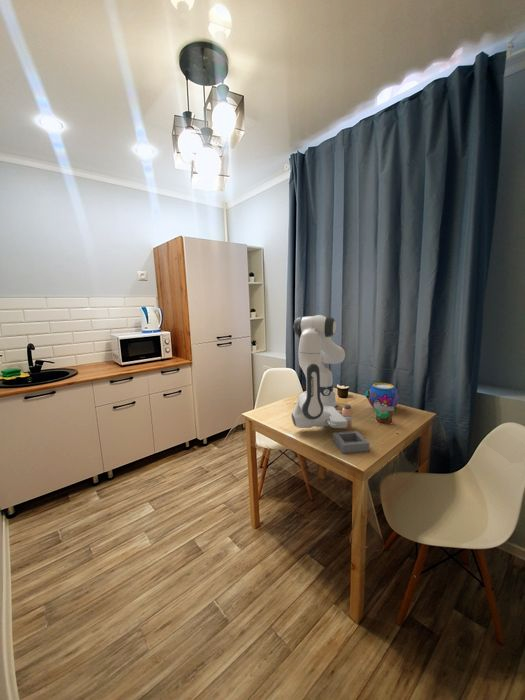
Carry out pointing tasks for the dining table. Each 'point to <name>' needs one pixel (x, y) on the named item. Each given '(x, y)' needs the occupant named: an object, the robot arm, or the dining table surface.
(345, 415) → the spice jar
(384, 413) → the food container
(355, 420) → the dining table surface
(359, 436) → the holder
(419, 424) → the dining table surface
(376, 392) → the ceramic pot
